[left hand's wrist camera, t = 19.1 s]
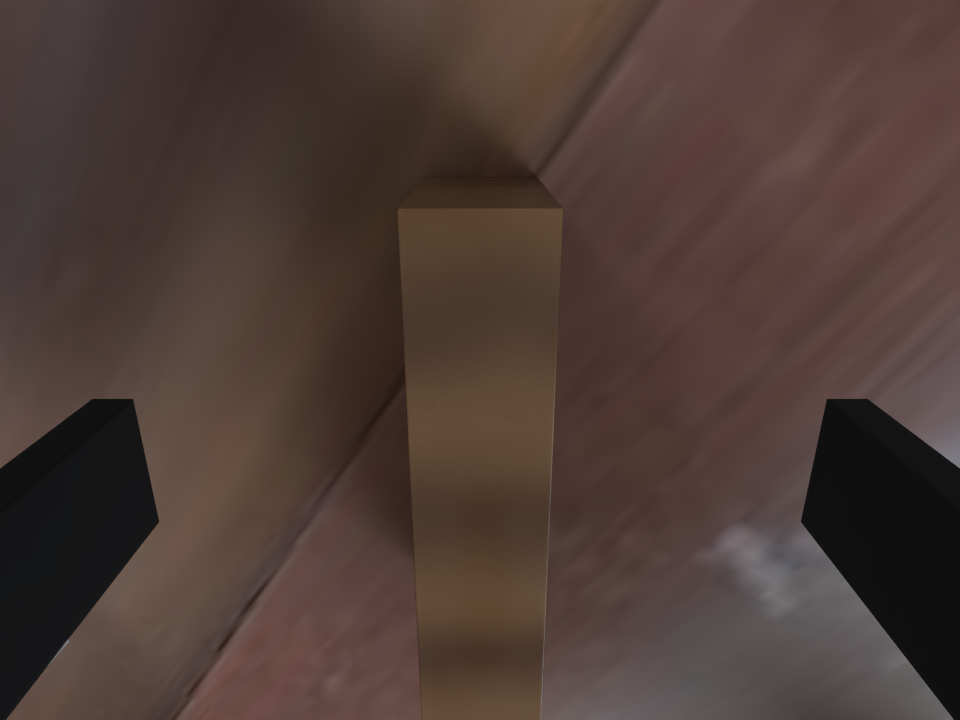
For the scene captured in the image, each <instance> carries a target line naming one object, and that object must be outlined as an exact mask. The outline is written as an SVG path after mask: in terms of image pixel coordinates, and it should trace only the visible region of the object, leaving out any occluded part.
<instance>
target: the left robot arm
mask: <svg viewBox="0 0 960 720" xmlns="http://www.w3.org/2000/svg"><path fill="white" fill-rule="evenodd" d="M158 523H159V519H158V515H157V510H156V505H155V500H154V496H153V491H152V486H151V482H150V477H149V472H148V467H147V463H146V458H145V453H144V449H143V444H142V439H141V434H140V430H139V425H138V420H137V416H136V411H135V406H134V401H133V399H92V400H91V401H89V402H88V403H87V404H85V405H84V406H83V407H81V408H80V409H79V410H77V411H76V412H75V413H73V414H72V415H71V416H69V417H68V418H67V419H65V420H64V421H63V422H61V423H60V424H59V425H57V426H56V427H55V428H53V429H52V430H51V431H49V432H48V433H47V434H45V435H44V436H43V437H42V438H40V439H39V440H38V441H36V442H35V443H34V444H32V445H31V446H30V447H28V448H27V449H26V450H24V451H23V452H22V453H20V454H19V455H18V456H16V457H15V458H14V459H12V460H11V461H10V462H8V463H7V464H6V465H4V466H3V467H2V468H0V720H6V719H7V718H8V716H9V715H10V714H11V712H12V711H13V710H14V709H15V707H16V706H17V705H18V703H19V702H20V701H21V700H22V698H23V697H24V696H25V694H26V693H27V692H28V690H29V689H30V688H31V687H32V685H33V684H34V683H35V681H36V680H37V679H38V678H39V676H40V675H41V674H42V672H43V671H44V670H45V669H46V667H47V666H48V665H49V663H50V662H51V661H52V659H53V658H54V657H55V656H56V654H57V653H58V652H59V650H60V649H61V648H62V647H63V645H64V644H65V643H66V641H67V640H68V639H69V638H70V636H71V635H72V634H73V632H74V631H75V630H76V628H77V627H78V626H79V625H80V623H81V622H82V621H83V619H84V618H85V617H86V616H87V614H88V613H89V612H90V610H91V609H92V608H93V607H94V605H95V604H96V603H97V601H98V600H99V599H100V597H101V596H102V595H103V594H104V592H105V591H106V590H107V588H108V587H109V586H110V585H111V583H112V582H113V581H114V579H115V578H116V577H117V575H118V574H119V573H120V572H121V570H122V569H123V568H124V566H125V565H126V564H127V563H128V561H129V560H130V559H131V557H132V556H133V555H134V554H135V552H136V551H137V550H138V548H139V547H140V546H141V544H142V543H143V542H144V541H145V539H146V538H147V537H148V535H149V534H150V533H151V532H152V530H153V529H154V528H155V526H156V525H157V524H158ZM801 523H802V524H803V525H804V526H805V528H806V529H807V530H808V532H809V533H810V534H811V535H812V537H813V538H814V539H815V541H816V542H817V543H818V544H819V546H820V547H821V548H822V550H823V551H824V552H825V554H826V555H827V556H828V557H829V559H830V560H831V561H832V563H833V564H834V565H835V566H836V568H837V569H838V570H839V572H840V573H841V574H842V576H843V577H844V578H845V579H846V581H847V582H848V583H849V585H850V586H851V587H852V588H853V590H854V591H855V592H856V594H857V595H858V596H859V597H860V599H861V600H862V601H863V603H864V604H865V605H866V607H867V608H868V609H869V610H870V612H871V613H872V614H873V616H874V617H875V618H876V619H877V621H878V622H879V623H880V625H881V626H882V627H883V628H884V630H885V631H886V632H887V634H888V635H889V636H890V638H891V639H892V640H893V641H894V643H895V644H896V645H897V647H898V648H899V649H900V650H901V652H902V653H903V654H904V656H905V657H906V658H907V659H908V661H909V662H910V663H911V665H912V666H913V667H914V669H915V670H916V671H917V672H918V674H919V675H920V676H921V678H922V679H923V680H924V681H925V683H926V684H927V685H928V687H929V688H930V689H931V690H932V692H933V693H934V694H935V696H936V697H937V698H938V700H939V701H940V702H941V703H942V705H943V706H944V707H945V709H946V710H947V711H948V712H949V714H950V715H951V716H952V718H953V719H954V720H960V468H958V467H957V466H956V465H954V464H953V463H952V462H950V461H949V460H948V459H946V458H945V457H944V456H942V455H941V454H940V453H938V452H937V451H936V450H934V449H933V448H932V447H930V446H929V445H928V444H926V443H925V442H924V441H922V440H921V439H920V438H918V437H917V436H916V435H915V434H913V433H912V432H911V431H909V430H908V429H907V428H905V427H904V426H903V425H901V424H900V423H899V422H897V421H896V420H895V419H893V418H892V417H891V416H889V415H888V414H887V413H885V412H884V411H883V410H881V409H880V408H879V407H877V406H876V405H875V404H873V403H872V402H871V401H869V400H868V399H827V401H826V406H825V411H824V416H823V420H822V425H821V430H820V434H819V439H818V444H817V449H816V453H815V458H814V463H813V467H812V472H811V477H810V482H809V486H808V491H807V496H806V500H805V505H804V510H803V515H802V519H801Z"/></svg>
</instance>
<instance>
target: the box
mask: <svg viewBox="0 0 960 720" xmlns="http://www.w3.org/2000/svg"><path fill="white" fill-rule="evenodd" d="M397 220H398V240H399V261H400V282H401V302H402V323H403V344H404V365H405V385H406V406H407V427H408V448H409V468H410V489H411V510H412V531H413V551H414V572H415V593H416V614H417V634H418V655H419V676H420V696H421V717H422V720H542V699H543V676H544V652H545V629H546V606H547V582H548V559H549V536H550V512H551V489H552V465H553V442H554V419H555V395H556V372H557V349H558V325H559V302H560V279H561V255H562V232H563V208H562V206H561V205H560V204H559V203H558V202H557V200H556V199H555V198H554V197H553V196H552V194H551V193H550V192H549V191H548V190H547V188H546V187H545V186H544V185H543V184H542V182H541V181H540V180H539V179H538V178H422V179H421V180H420V181H419V183H418V184H417V185H416V186H415V188H414V189H413V190H412V191H411V193H410V194H409V195H408V196H407V198H406V199H405V200H404V201H403V203H402V204H401V205H400V206H399V208H398V209H397Z"/></svg>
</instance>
